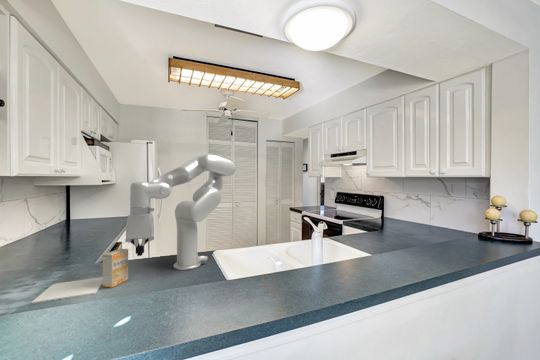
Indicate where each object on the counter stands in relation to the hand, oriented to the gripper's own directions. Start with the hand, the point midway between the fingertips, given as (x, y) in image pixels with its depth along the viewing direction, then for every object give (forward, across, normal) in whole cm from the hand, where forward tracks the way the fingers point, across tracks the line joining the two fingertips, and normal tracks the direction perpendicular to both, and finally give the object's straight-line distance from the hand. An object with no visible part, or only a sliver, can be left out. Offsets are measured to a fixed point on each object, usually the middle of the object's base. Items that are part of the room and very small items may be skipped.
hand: (139, 255), depth 100 cm
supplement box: (+11, +8, 0) cm, 14 cm away
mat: (+11, +22, 0) cm, 25 cm away
